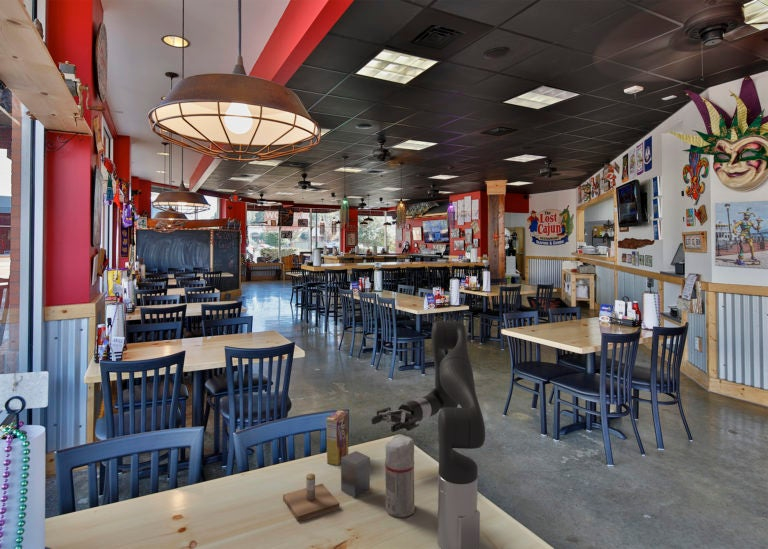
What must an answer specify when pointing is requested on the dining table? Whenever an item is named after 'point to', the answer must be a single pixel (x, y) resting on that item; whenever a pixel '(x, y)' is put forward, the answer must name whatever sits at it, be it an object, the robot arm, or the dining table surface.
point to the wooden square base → (310, 500)
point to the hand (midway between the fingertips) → (381, 424)
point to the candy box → (337, 437)
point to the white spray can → (400, 476)
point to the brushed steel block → (355, 474)
